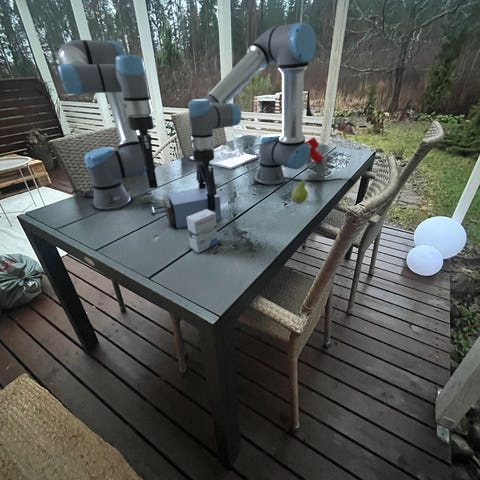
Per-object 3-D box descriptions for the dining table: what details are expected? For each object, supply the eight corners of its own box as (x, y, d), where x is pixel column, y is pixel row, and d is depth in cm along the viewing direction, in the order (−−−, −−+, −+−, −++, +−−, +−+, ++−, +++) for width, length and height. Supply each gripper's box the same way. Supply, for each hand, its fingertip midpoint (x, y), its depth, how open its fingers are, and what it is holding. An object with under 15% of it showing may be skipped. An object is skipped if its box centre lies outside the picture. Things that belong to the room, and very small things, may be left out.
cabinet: (177, 228, 103) (173, 204, 97) (171, 216, 111) (168, 193, 106) (221, 219, 108) (220, 196, 103) (212, 208, 117) (211, 186, 111)
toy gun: (326, 157, 168) (314, 136, 164) (326, 159, 164) (313, 137, 160) (301, 172, 178) (289, 153, 174) (300, 174, 174) (287, 154, 170)
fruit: (288, 200, 123) (290, 174, 116) (302, 197, 125) (305, 172, 119) (296, 206, 118) (299, 179, 111) (310, 203, 120) (314, 177, 114)
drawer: (154, 229, 100) (150, 210, 96) (151, 218, 107) (147, 200, 103) (212, 218, 107) (211, 199, 103) (205, 208, 115) (203, 190, 110)
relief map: (231, 168, 161) (231, 160, 158) (189, 159, 179) (189, 151, 176) (257, 158, 179) (257, 150, 176) (217, 150, 197) (216, 142, 194)
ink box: (209, 237, 96) (206, 207, 90) (218, 243, 93) (216, 212, 87) (189, 247, 91) (185, 216, 85) (198, 253, 88) (195, 221, 82)
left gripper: (125, 113, 88) (140, 182, 101) (128, 119, 78) (144, 195, 91) (149, 112, 90) (161, 179, 103) (155, 117, 80) (167, 192, 93)
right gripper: (185, 142, 105) (191, 195, 116) (202, 157, 86) (207, 218, 98) (203, 140, 107) (207, 192, 119) (224, 155, 89) (226, 214, 101)
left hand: (153, 187), depth 97 cm, fingers closed
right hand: (207, 204), depth 109 cm, fingers closed on cabinet, 11 cm apart
